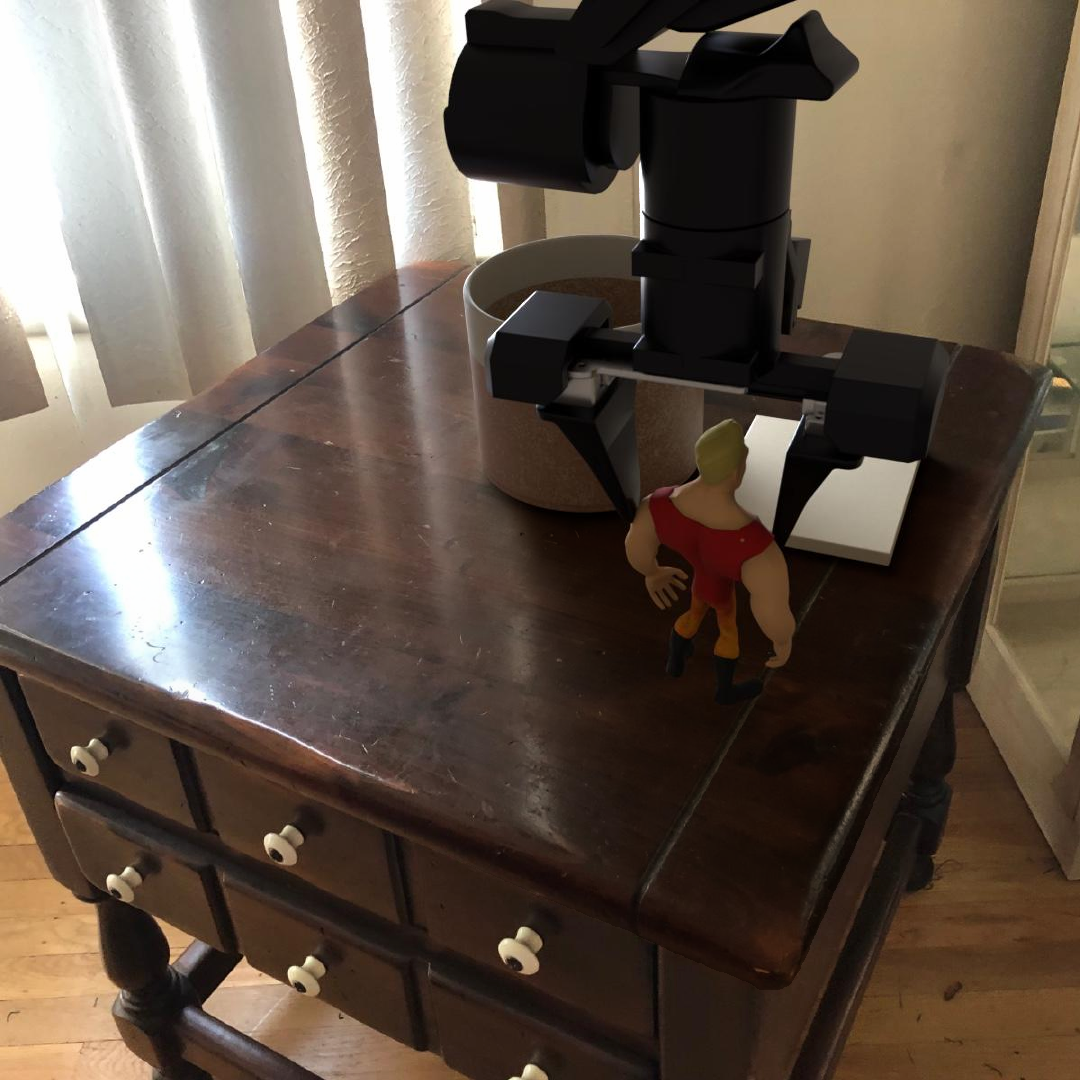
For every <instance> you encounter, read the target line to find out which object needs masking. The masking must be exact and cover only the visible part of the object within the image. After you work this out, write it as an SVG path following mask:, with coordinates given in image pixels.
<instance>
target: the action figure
mask: <svg viewBox="0 0 1080 1080" xmlns="http://www.w3.org/2000/svg"><path fill="white" fill-rule="evenodd" d="M744 435H745V434H744V428H743V425H742V424H741V423H740V422H737V421H736V420H735V419H734V418H729V419H724V420H722V421H721V422H720V423H718V424H716V425H715V426H712V427H710V428H708V429H707V430H706V431H705V432H703V435H701V436H700V438H699V440H698V441H697V442H696V445H695V448H694V451H695V453H694V456H693V458H694V461H695V463H696V465H697V470H698V472H699V476H697V478H696V479H694V480H692V481H689V482H687V483H684V484H682V485H680V486H679V485H676V486H671V487H663V488H660V489H657V490H656V491H655V492H654V493H653V494H650V495H648V496H647V497H646V498H644V499H643V500H642V501H641V502H640V504H639V506H638V508H637V510H636V512H635V516H634V519H633V523H632V524H630V526H629V527H630V528H629V531H628V533H627V535H626V537H625V541H624V545H625V553H626V557H627V561H628V562H629V564H630V565H631V567H632V569H634V570H636V571H637V572H638V573H640V574H641V575H643V576H645V577H644V578H645V586H646V588H647V591H648V594H649V595H650V598H651V599H652V601H653V602H654V603H655V605H656V606H657V607H658V608H660V610H665V609H666V607H668V608H671V607H672V603H671V601H670V600H669V598H668V597H667V596H666V593H665V592H664V591H663V589H664V590H665V591H666V592H667V594H668V595H669V597H671V599H672V600H673V601H675V602H676V601H678V600H679V596H678V595H677V594H676V592H675V591H674V589H673V588H672V586H671V585H673V586H675V587H677V588H679V590H681V591H685V590H686V589H687V587H686V585H684V584H683V582H681V581H680V580H679V579H682V580H687V579H688V578H689V575H687V574H686V573H685V571H683V569H680V568H675V567H671V566H659V562H658V559H657V558H656V556H657V555H658V552H659V546H660V545H661V544H663V545H664V546H666V547H667V548H668V549H671V550H673V551H675V552H677V553H679V554H680V555H681V556H682V557H683V558H684V560H686V562H688V563H689V564H690V565H691V566H692V567H693V571H694V576H693V580H692V584H691V588H690V589H691V604H690V605H691V606H690V609H689V610H688V611H686V612H685V613H683V614H682V615H681V616H679V617H678V619H677V620H676V621H675V624H673V625H672V628H671V633H670V638H669V658H668V662H667V664H666V669H665V671H666V673H667V675H668V676H669V677H670V678H673V679H679V678H680V679H681V677H682V676H683V675H684V674H685V670H686V664H687V662H688V660H689V659H690V658H692V657H693V655H695V653H696V644H695V642H694V639H695V638H696V636H697V634H696V633H697V632H698V630H699V627H700V625H701V623H702V620H703V619H704V617H705V615H706V614H707V612H708V610H709V608H710V607H711V608H712V609H715V614H716V618H717V619H716V620H717V626H718V629H719V636H718V638H717V641H716V643H715V646H714V648H713V652H712V654H711V655H712V661H713V662H712V663H713V668H714V669H713V670H714V673H715V678H716V680H717V687H716V689H715V691H714V693H713V702H714V703H716V704H717V705H719V706H721V707H722V706H723V707H728V706H729V707H730V706H733V705H736V704H739V703H743V702H747V701H750V700H754V699H756V698H757V697H759V696H761V695H762V694H763V692H764V690H765V682H764V681H763V680H762V679H761V678H759V677H753V678H747V679H745V680H743V681H741V682H737V683H734V675H735V673H736V671H737V669H738V666H739V662H740V656H739V654H740V647H739V633H738V631H739V628H738V626H737V622H736V617H737V597H736V596H737V595H736V582H738V583H741V584H743V585H744V587H745V588H746V590H747V591H748V592H749V593H750V597H749V598H750V600H749V603H750V609H751V612H752V615H753V618H754V619H755V621H756V623H757V624H758V626H759V628H760V630H761V631H762V632H763V634H765V636H766V637H767V639H769V640H770V641H772V642H773V650H774V652H775V656H771V657H769V658H768V661H766V662H765V666H766V667H768V668H780V667H782V666H784V665H785V664H786V663H787V661H788V659H789V658H790V655H791V652H792V644H793V642H792V641H793V639H792V637H793V636H794V633H795V631H796V625H797V624H796V620H795V617H794V615H793V613H792V611H791V608H790V605H789V598H790V580H789V571H788V566H787V563H786V560H785V556H784V553H783V551H782V552H781V550H780V549H779V547H778V545H777V544H776V542H775V541H774V535H773V534H772V533H771V532H770V531H769V530H768V529H767V528H766V527H765V526H764V525H763V524H762V522H761V520H760V519H759V517H758V516H757V515H753V514H752V513H751V512H750V511H748V510H747V509H745V508H743V507H742V506H740V505H739V504H738V503H737V502H736V500H735V496H734V494H735V490H736V489H738V488H739V487H740V485H741V483H742V480H743V476H744V474H745V471H746V459H747V456H748V453H749V448H748V447H747V446H746V445H745V443H744V442H745V439H744V438H745V436H744ZM675 575H676V576H677V577H678V578H679V579H676V578H675V577H674V576H675ZM656 592H657V593H656ZM657 594H658V595H659V597H660V598H659V597H658V595H657ZM660 599H661V600H660ZM665 605H666V606H665Z"/></svg>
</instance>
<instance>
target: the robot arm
mask: <svg viewBox="0 0 1080 1080" xmlns="http://www.w3.org/2000/svg"><path fill="white" fill-rule="evenodd" d="M796 1H797V0H581V1H580V2H579V4H578V6H577V8H571V7H569V8H567V7H549V6H536V5H532V4H530V3H529V4H528V3H526V2H523V1H520V0H487V1H485V2H483V3H480V4H477V5H475V6H474V7H471V8H469V9H467V11H466V12H465V13H464V25H465V34H466V35H465V37H466V43H465V44H464V45H463V48H462V50H461V51H460V53H459V55H458V56H457V59H456V62H455V64H454V67H453V70H452V74H451V78H450V84H449V89H448V100H447V106H446V107H445V108H444V110H443V113H442V114H443V115H442V117H443V130H444V136H445V143H446V146H447V150H448V152H449V155H450V157H451V160H452V162H453V164H454V166H455V168H457V170H458V172H460V173H461V174H462V175H463V176H464V177H465V178H467V179H470V180H473V181H478V182H479V181H480V182H486V183H487V182H488V183H496V184H505V185H513V186H521V187H529V188H538V189H545V190H554V191H563V192H570V193H578V194H588V195H598V194H602V193H604V192H605V191H606V190H607V189H608V188H609V187H610V186H611V185H612V183H613V182H614V181H615V179H616V178H617V175H618V174H619V172H620V171H624V172H625V171H628V170H630V169H631V168H632V167H633V166H634V165H635V164H636V161H637V160H638V158H639V204H640V206H639V207H640V208H639V210H640V213H639V215H640V216H639V217H640V221H639V223H640V224H639V227H640V238H641V241H640V242H639V243H638V244H637V245H636V246H635V248H634V249H633V250H632V251H631V263H632V276H637V277H641V333H637V332H629V331H621V330H614V329H613V309H612V307H611V306H610V305H609V303H608V302H607V301H606V299H603V298H595V297H587V296H578V295H570V294H562V293H553V292H545V291H535V292H534V293H533V294H532V295H531V296H530V297H529V298H528V299H527V300H526V301H525V302H524V303H523V304H522V305H521V306H520V307H519V308H518V309H517V310H516V311H515V312H514V313H513V314H512V315H511V317H510V318H509V319H508V320H507V321H506V322H505V323H504V324H503V325H502V326H501V327H500V328H499V329H498V330H497V331H496V332H495V333H494V334H493V335H492V336H491V337H490V338H489V339H488V342H487V346H486V350H485V354H484V366H485V376H486V386H487V391H488V392H489V393H490V395H491V396H492V397H493V398H498V399H504V400H511V401H517V402H523V403H530V404H536V410H537V415H538V417H539V418H540V419H541V420H543V421H548V422H552V423H554V424H556V425H557V427H558V428H559V429H560V430H561V432H562V433H563V434H564V435H565V437H566V438H567V439H568V440H569V442H570V443H571V444H572V445H573V447H574V448H575V449H576V450H577V452H578V453H579V454H580V455H581V457H582V458H583V459H584V461H585V462H586V463H587V465H588V466H589V468H590V469H591V471H592V472H593V474H594V475H595V477H596V478H597V480H598V481H599V483H600V485H601V486H602V488H603V489H604V491H605V493H606V494H607V496H608V497H609V499H610V501H611V502H612V504H613V505H614V507H615V509H616V510H615V511H616V512H617V513H618V515H619V516H620V519H621V520H622V521H623V523H624V524H630V525H631V524H632V523H633V519H634V516H635V512H636V510H637V508H638V506H639V502H640V473H639V460H638V448H637V436H636V424H635V412H634V401H635V393H636V386H637V380H643V381H650V382H657V383H664V384H670V385H677V386H684V387H691V388H698V389H704V391H705V390H706V391H712V392H719V393H727V394H732V395H739V396H740V395H743V396H744V395H746V396H754V397H760V398H765V399H766V398H767V399H774V400H781V401H788V402H795V403H802V405H801V416H802V417H801V418H800V420H799V421H800V423H799V425H798V428H797V430H796V432H795V434H794V436H793V438H792V441H791V443H790V445H789V447H788V449H787V451H786V457H785V462H784V468H783V473H782V479H781V485H780V490H779V496H778V501H777V507H776V512H775V518H774V523H773V529H772V534H773V535H774V541H775V542H776V544H777V545H778V547H779V549H780V550H781V552H782V553H783V550H784V549H785V547H786V546H785V544H786V542H787V541H788V539H789V537H790V535H791V533H792V531H793V529H794V527H795V525H796V523H797V521H798V519H799V517H800V515H801V513H802V511H803V509H804V507H805V505H806V504H807V502H808V501H809V499H810V498H811V497H812V495H813V494H814V493H815V492H816V490H817V489H818V488H819V487H820V485H821V484H822V483H823V482H824V480H825V479H826V478H827V477H828V475H829V474H830V473H831V472H832V470H834V469H843V470H853V469H857V468H859V467H860V466H861V465H862V463H863V460H864V457H871V458H877V459H884V460H890V461H896V462H903V463H912V462H915V461H919V460H921V461H922V460H925V459H927V455H928V452H929V449H930V445H931V442H932V438H933V434H934V432H935V428H936V425H937V421H938V417H939V414H940V410H941V406H942V403H943V399H944V396H945V390H946V384H947V378H948V372H949V365H950V354H949V352H948V351H947V350H946V348H945V347H944V345H943V344H942V343H941V341H940V340H939V338H933V337H925V336H919V335H909V334H901V333H895V332H894V333H893V332H886V331H885V332H884V331H878V330H877V331H876V330H868V329H860V328H853V329H852V332H851V335H850V337H849V339H848V341H847V343H846V346H845V347H844V350H843V352H837V351H835V352H829V353H826V354H824V355H822V356H820V355H812V354H806V353H799V352H798V353H797V352H789V351H782V350H780V349H781V339H782V337H781V336H782V335H783V336H791V334H792V332H793V331H794V329H795V327H796V326H797V322H798V310H801V309H802V307H803V301H804V293H805V286H806V280H807V273H808V266H809V258H810V254H811V253H810V252H811V246H812V239H811V238H808V237H799V236H792V229H793V221H792V209H791V208H790V207H791V192H792V190H791V189H792V175H793V164H794V163H793V160H794V148H795V147H794V146H795V135H796V134H795V132H796V120H797V119H796V117H797V105H798V104H797V103H798V100H800V101H810V102H827V101H829V100H830V99H832V97H833V96H835V94H836V93H838V92H839V91H840V90H841V89H842V87H844V86H845V85H846V84H847V83H848V82H849V81H850V80H851V79H853V77H854V76H855V75H857V73H858V71H859V69H860V60H859V58H858V57H857V56H856V55H855V54H854V53H853V52H852V51H851V50H850V49H849V48H848V47H847V46H846V45H845V43H843V42H842V41H841V40H839V39H838V38H837V37H836V36H834V34H833V33H832V32H831V31H830V30H829V28H828V27H827V25H826V24H825V21H824V19H823V17H822V14H821V12H820V11H819V10H817V9H809V10H808V11H806V12H805V13H804V14H802V15H801V16H800V17H798V18H796V20H794V21H793V22H792V23H790V25H789V26H788V28H787V29H786V30H785V31H784V32H783V33H768V32H749V31H730V30H726V31H725V30H721V29H724V28H726V27H729V26H733V25H735V24H737V23H739V22H743V21H746V20H748V19H751V18H754V17H756V16H759V15H761V14H764V13H767V12H769V11H772V10H775V9H778V8H780V7H782V6H785V5H788V4H791V3H794V2H796ZM669 30H671V31H674V32H676V33H680V34H681V33H683V34H685V33H686V34H703V35H701V36H700V38H698V40H697V41H696V42H695V44H694V45H693V47H692V49H691V51H669V50H668V51H667V50H650V49H649V50H648V49H640V48H642V47H643V46H645V45H647V44H649V43H650V42H652V41H653V40H655V39H656V38H659V37H660V36H661V35H664V33H667V32H668V31H669Z"/></svg>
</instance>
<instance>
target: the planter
mask: <svg viewBox="0 0 1080 1080" xmlns="http://www.w3.org/2000/svg"><path fill="white" fill-rule="evenodd" d="M640 241H641V237H640V236H639V237H638V236H632V235H624V234H609V233H608V234H607V233H591V234H590V233H589V234H587V233H586V234H585V233H584V234H572V235H563V236H562V235H561V236H554V237H549V238H543V239H538V240H533V241H530V242H526V243H523V244H519V245H515V246H513V247H511V248H507V249H505V250H503V251H501V252H498V253H496V254H494V255H491V256H490V257H489V258H487V259H485V260H484V261H482V262H481V263H480V264H478V266H476V267H475V268H474V269H473V270H472V271H471V272H470V273H469V274H468V276H467V277H466V279H465V282H464V284H463V289H462V290H463V303H464V311H465V312H464V313H465V321H466V322H465V323H466V331H467V340H468V350H469V351H468V352H469V359H470V367H471V368H470V370H471V379H472V388H473V398H474V406H475V407H474V408H475V417H476V426H477V427H476V428H477V437H478V446H479V454H480V455H479V456H480V463H481V466H482V469H483V471H484V473H485V474H486V476H487V478H488V479H489V480H490V482H492V484H493V485H495V486H496V488H498V490H500V491H501V492H504V493H505V494H506V495H508V496H510V497H511V498H514V499H516V500H518V501H520V502H523V503H525V504H528V505H531V506H534V507H538V508H542V509H547V510H552V511H557V512H563V513H564V512H565V513H578V514H579V513H580V514H581V513H582V514H583V513H588V514H589V513H590V514H591V513H605V512H614V511H617V510H616V509H615V507H614V505H613V504H612V502H611V501H610V499H609V497H608V496H607V494H606V493H605V491H604V489H603V488H602V486H601V485H600V483H599V481H598V480H597V478H596V477H595V475H594V474H593V472H592V471H591V469H590V468H589V466H588V465H587V463H586V462H585V461H584V459H583V458H582V457H581V455H580V454H579V453H578V452H577V450H576V449H575V448H574V447H573V445H572V444H571V443H570V442H569V440H568V439H567V438H566V437H565V435H564V434H563V433H562V432H561V430H560V429H559V428H558V427H557V425H556V424H554V423H552V422H548V421H543V420H541V419H540V418H539V417H538V415H537V410H536V404H530V403H523V402H517V401H511V400H504V399H498V398H493V397H492V396H491V395H490V393H489V392H488V391H487V386H486V376H485V366H484V354H485V350H486V346H487V342H488V339H489V338H490V337H491V336H492V335H493V334H494V333H495V332H496V331H497V330H498V329H499V328H500V327H501V326H502V325H503V324H504V323H505V322H506V321H507V320H508V319H509V318H510V317H511V315H512V314H513V313H514V312H515V311H516V310H517V309H518V308H519V307H520V306H521V305H522V304H523V303H524V302H525V301H526V300H527V299H528V298H529V297H530V296H531V295H532V294H533V293H534V292H535V291H545V292H553V293H562V294H570V295H578V296H587V297H595V298H603V299H606V301H607V302H608V303H609V305H610V306H611V307H612V309H613V329H614V330H621V331H629V332H637V333H641V277H637V276H632V263H631V251H632V250H633V249H634V248H635V246H636V245H637V244H638V243H639V242H640ZM704 406H705V389H698V388H691V387H684V386H677V385H670V384H664V383H657V382H650V381H643V380H637V386H636V393H635V401H634V412H635V424H636V436H637V448H638V460H639V473H640V502H641V501H642V500H643V499H644V498H646V497H647V496H648V495H650V494H653V493H654V492H655V491H656V490H657V489H660V488H663V487H671V486H676V485H679V486H682V485H684V484H685V482H686V481H688V479H689V478H690V477H691V476H692V475H693V474H694V473H695V471H696V469H698V466H697V465H696V463H695V461H694V458H693V456H694V453H695V451H694V448H695V445H696V442H697V441H698V440H699V438H700V436H701V435H703V434H704V411H705V410H704V409H705V408H704ZM640 502H639V504H640Z"/></svg>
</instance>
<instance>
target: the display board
mask: <svg viewBox="0 0 1080 1080" xmlns="http://www.w3.org/2000/svg"><path fill="white" fill-rule="evenodd" d="M800 421H801V420H792V419H786V418H779V417H774V416H766V415H761V414H760V415H759V414H756V416H755V418H754V419H753V421H752V423H751V425H750V426H749V428H748V430H747V432H746V434H745V436H744V439H745V442H744V443H745V445H746V446H747V447H748V448H749V453H748V456H747V459H746V471H745V474H744V476H743V480H742V483H741V485H740V487H739V488H738V489H736V490H735V494H734V496H735V500H736V502H737V503H738V504H739V505H740V506H742V507H743V508H745V509H747V510H748V511H750V512H751V513H752V514H753V515H757V516H758V517H759V519H760V520H761V522H762V524H763V525H764V526H765V527H766V528H767V529H768V530H769V531H770V532H771V533H772V529H773V523H774V518H775V512H776V507H777V501H778V496H779V490H780V485H781V479H782V473H783V468H784V462H785V457H786V451H787V449H788V447H789V445H790V443H791V441H792V438H793V436H794V434H795V432H796V430H797V428H798V425H799V423H800ZM921 461H922V460H919V461H915V462H912V463H903V462H896V461H890V460H884V459H877V458H871V457H864V460H863V463H862V465H861V466H860V467H859V468H857V469H853V470H843V469H834V470H832V472H831V473H830V474H829V475H828V477H827V478H826V479H825V480H824V482H823V483H822V484H821V485H820V487H819V488H818V489H817V490H816V492H815V493H814V494H813V495H812V497H811V498H810V499H809V501H808V502H807V504H806V505H805V507H804V509H803V511H802V513H801V515H800V517H799V519H798V521H797V523H796V525H795V527H794V529H793V531H792V533H791V535H790V537H789V539H788V541H787V542H786V544H785V546H784V547H785V548H786V547H787V548H791V549H792V548H793V549H797V550H801V551H802V550H803V551H807V552H813V553H818V554H823V555H826V556H827V555H828V556H833V557H837V558H844V559H848V560H854V561H859V562H864V563H868V564H869V563H870V564H875V565H880V566H884V567H889V566H890V564H891V560H892V557H893V554H894V550H895V547H896V543H897V541H898V536H899V533H900V531H901V526H902V523H903V521H904V517H905V513H906V511H907V507H908V503H909V501H910V496H911V494H912V491H913V487H914V484H915V481H916V478H917V475H918V474H917V473H918V470H919V468H920V465H921V464H920V463H921Z"/></svg>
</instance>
